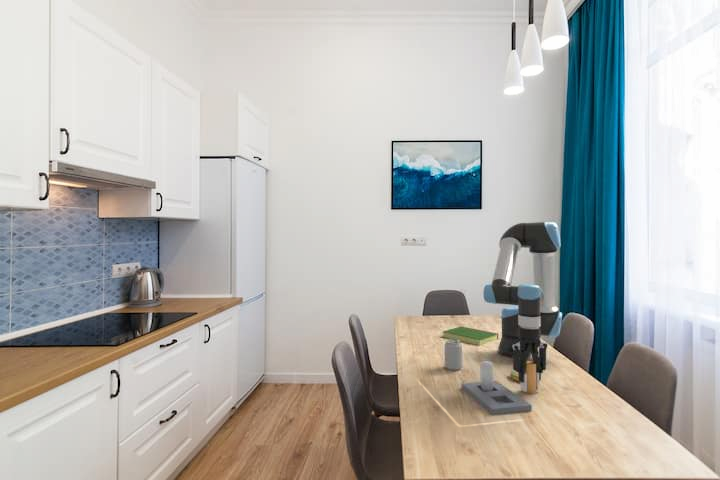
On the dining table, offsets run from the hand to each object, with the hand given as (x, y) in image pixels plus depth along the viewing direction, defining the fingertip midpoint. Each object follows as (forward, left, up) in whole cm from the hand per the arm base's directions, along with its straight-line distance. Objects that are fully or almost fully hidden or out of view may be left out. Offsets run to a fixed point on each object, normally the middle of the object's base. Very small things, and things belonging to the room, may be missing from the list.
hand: (529, 389), depth 139 cm
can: (+16, -31, -1) cm, 35 cm away
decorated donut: (-6, -12, -2) cm, 13 cm away
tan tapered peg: (0, 0, -1) cm, 1 cm away
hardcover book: (-14, -76, -2) cm, 77 cm away
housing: (+16, +3, -1) cm, 16 cm away
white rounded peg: (+16, -2, -1) cm, 16 cm away
